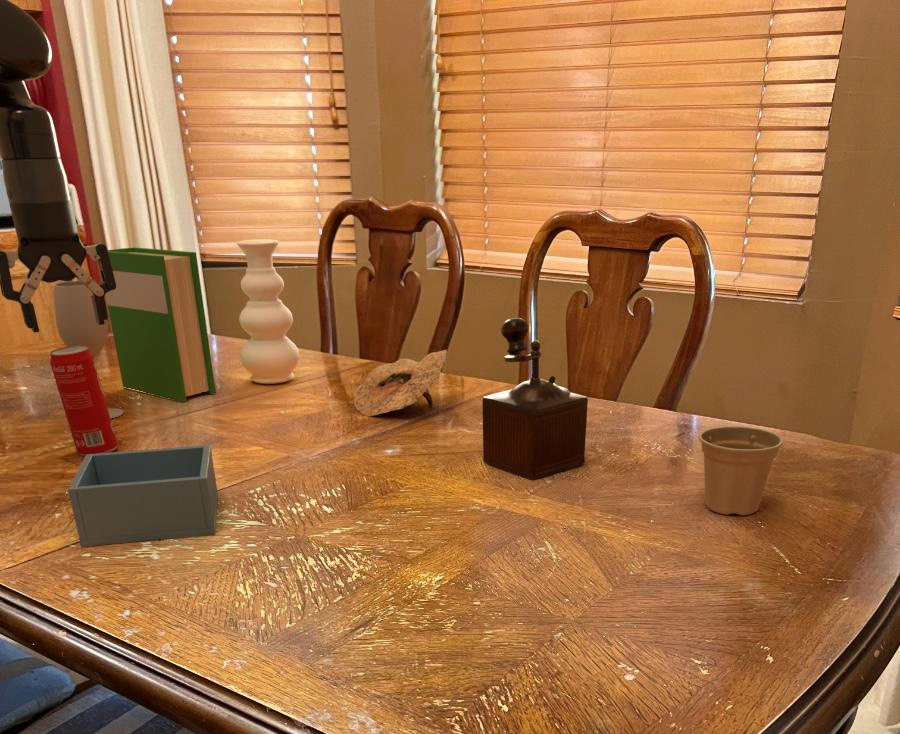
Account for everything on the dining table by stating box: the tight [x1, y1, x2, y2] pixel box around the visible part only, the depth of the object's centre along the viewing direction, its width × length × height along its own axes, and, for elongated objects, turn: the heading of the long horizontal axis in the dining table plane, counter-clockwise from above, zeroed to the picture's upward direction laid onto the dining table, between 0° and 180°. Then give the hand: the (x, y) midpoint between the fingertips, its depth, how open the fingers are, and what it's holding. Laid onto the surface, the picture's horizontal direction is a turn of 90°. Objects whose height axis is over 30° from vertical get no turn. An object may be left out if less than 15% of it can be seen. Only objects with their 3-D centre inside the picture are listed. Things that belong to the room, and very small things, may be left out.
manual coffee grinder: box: [481, 317, 589, 481], centre depth 117 cm, size 16×11×18 cm
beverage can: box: [49, 345, 118, 457], centre depth 123 cm, size 6×6×15 cm
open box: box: [67, 444, 219, 548], centre depth 101 cm, size 15×13×7 cm
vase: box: [236, 238, 300, 385], centre depth 159 cm, size 11×11×25 cm
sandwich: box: [352, 349, 448, 417], centre depth 145 cm, size 18×14×8 cm
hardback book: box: [105, 246, 217, 403], centre depth 153 cm, size 18×7×24 cm, turn 53°
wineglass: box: [53, 280, 125, 420], centre depth 140 cm, size 8×8×21 cm
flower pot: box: [698, 425, 784, 516], centre depth 101 cm, size 9×9×9 cm
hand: (68, 327), depth 118 cm, fingers open, 8 cm apart
